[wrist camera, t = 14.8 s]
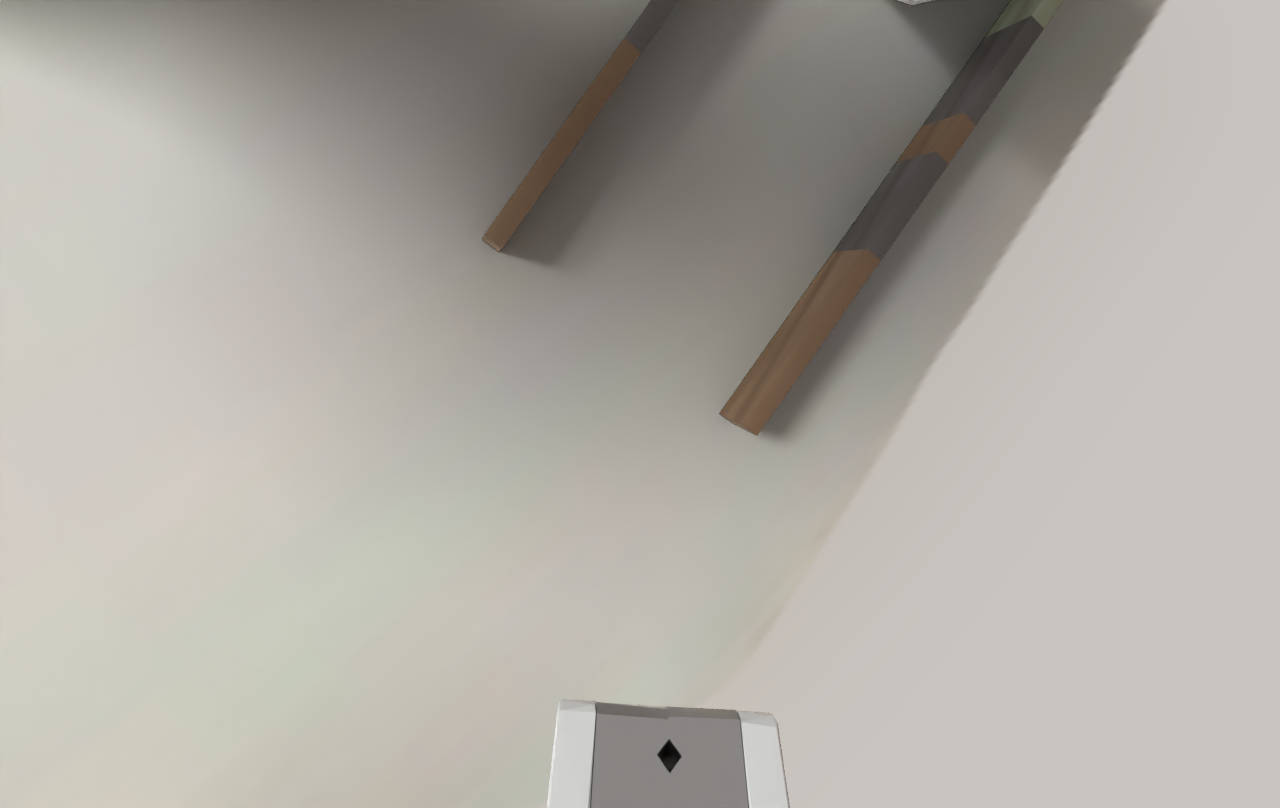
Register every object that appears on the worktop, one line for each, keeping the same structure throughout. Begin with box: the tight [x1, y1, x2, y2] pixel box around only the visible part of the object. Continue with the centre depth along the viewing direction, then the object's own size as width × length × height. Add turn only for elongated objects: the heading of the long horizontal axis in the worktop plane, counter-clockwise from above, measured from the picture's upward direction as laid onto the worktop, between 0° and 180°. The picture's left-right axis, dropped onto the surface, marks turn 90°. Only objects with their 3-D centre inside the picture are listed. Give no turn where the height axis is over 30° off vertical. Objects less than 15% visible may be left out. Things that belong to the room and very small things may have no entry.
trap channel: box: [482, 0, 1064, 435], centre depth 32 cm, size 14×28×3 cm, turn 144°
